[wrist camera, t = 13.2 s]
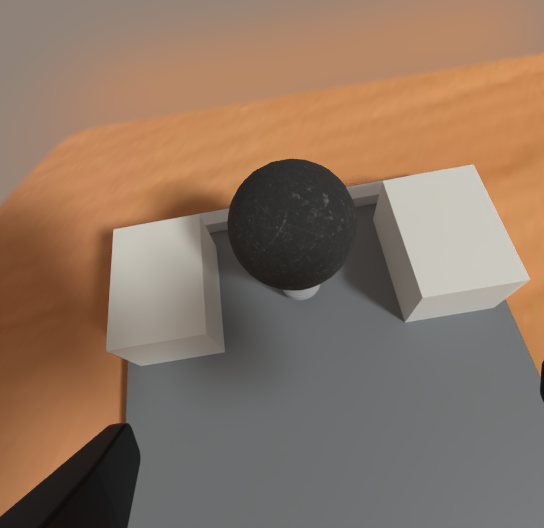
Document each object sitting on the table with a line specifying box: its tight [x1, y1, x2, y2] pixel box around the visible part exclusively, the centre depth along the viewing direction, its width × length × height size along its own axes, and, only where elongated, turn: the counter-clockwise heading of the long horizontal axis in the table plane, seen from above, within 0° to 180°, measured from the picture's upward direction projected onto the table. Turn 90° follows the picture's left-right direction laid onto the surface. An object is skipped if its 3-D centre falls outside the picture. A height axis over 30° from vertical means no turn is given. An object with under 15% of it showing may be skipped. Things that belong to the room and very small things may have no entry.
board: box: [106, 165, 544, 528], centre depth 20 cm, size 20×22×5 cm
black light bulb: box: [227, 159, 357, 300], centre depth 18 cm, size 6×6×10 cm
